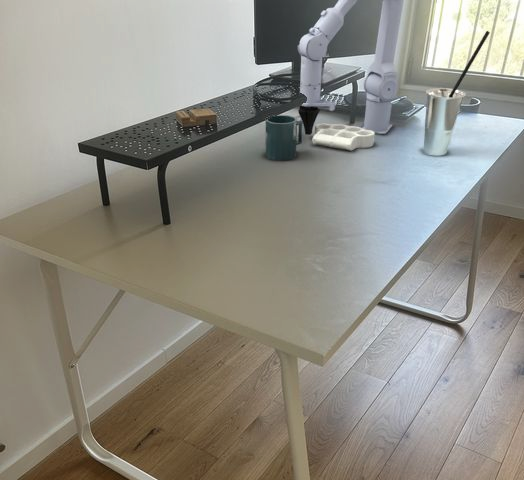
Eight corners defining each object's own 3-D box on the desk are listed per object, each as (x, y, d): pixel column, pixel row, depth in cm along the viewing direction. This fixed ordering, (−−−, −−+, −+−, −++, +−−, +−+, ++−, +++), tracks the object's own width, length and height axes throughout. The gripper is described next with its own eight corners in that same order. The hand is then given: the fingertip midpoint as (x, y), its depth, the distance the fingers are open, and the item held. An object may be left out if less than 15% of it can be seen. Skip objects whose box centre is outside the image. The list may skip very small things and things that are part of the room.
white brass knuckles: (301, 144, 159) (324, 131, 169) (360, 155, 152) (379, 140, 162) (302, 132, 157) (324, 120, 167) (361, 142, 150) (381, 128, 160)
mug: (278, 162, 147) (278, 125, 142) (259, 154, 153) (259, 118, 147) (310, 154, 153) (312, 118, 147) (291, 146, 158) (292, 111, 152)
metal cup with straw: (463, 159, 149) (490, 31, 131) (420, 158, 149) (442, 31, 131) (452, 146, 158) (477, 24, 139) (413, 146, 158) (432, 24, 139)
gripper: (281, 84, 154) (280, 134, 162) (331, 89, 149) (327, 140, 158) (290, 79, 159) (289, 128, 167) (338, 83, 154) (335, 133, 163)
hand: (308, 133), depth 163 cm, fingers closed
